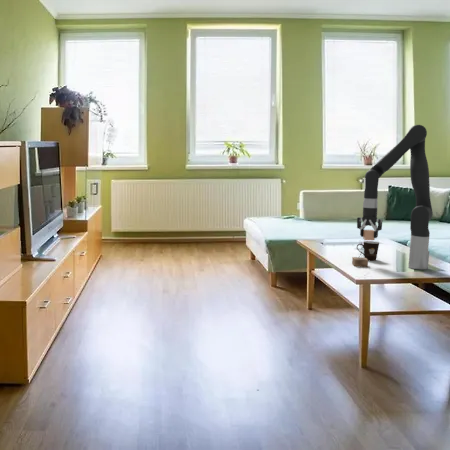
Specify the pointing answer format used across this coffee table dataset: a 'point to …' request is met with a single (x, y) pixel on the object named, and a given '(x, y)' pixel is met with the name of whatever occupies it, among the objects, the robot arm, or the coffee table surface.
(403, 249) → the coffee table surface
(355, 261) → the walnut box
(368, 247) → the coffee mug
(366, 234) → the terracotta cube
